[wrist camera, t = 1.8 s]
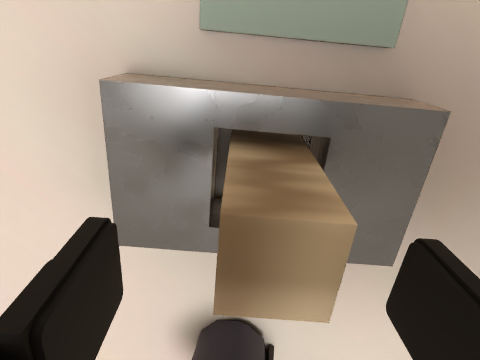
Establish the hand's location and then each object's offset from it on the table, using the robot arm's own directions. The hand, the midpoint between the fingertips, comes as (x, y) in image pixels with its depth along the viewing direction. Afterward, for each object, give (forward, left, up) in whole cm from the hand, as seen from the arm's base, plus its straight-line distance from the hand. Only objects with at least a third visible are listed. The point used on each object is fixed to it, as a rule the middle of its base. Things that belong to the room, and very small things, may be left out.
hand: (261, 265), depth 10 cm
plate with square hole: (-1, 0, -10) cm, 10 cm away
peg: (-1, 0, -10) cm, 10 cm away
